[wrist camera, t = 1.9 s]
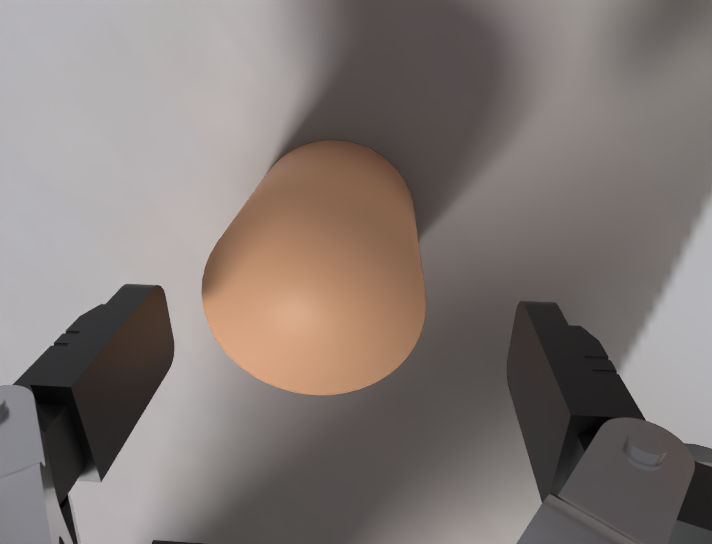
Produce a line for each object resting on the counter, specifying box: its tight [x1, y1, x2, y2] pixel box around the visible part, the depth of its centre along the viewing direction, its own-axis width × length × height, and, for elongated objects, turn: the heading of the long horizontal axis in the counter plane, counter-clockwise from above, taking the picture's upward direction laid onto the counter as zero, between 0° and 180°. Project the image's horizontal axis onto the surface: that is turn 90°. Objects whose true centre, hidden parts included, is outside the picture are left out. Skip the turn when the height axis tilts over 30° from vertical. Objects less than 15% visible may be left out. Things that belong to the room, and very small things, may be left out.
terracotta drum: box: [202, 140, 426, 395], centre depth 16 cm, size 6×6×6 cm
